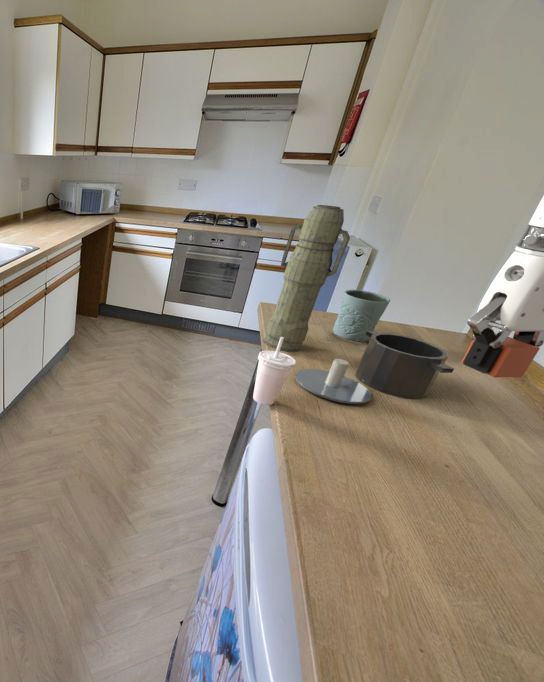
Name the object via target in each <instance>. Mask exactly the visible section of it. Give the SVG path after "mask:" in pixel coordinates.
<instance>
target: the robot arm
mask: <svg viewBox="0 0 544 682" xmlns="http://www.w3.org/2000/svg"><path fill="white" fill-rule="evenodd" d="M541 197H542V198H541V199H540V201H539V203H538V205H537V207H536V208H535V211H534V213H533V214H532V217H531V218H530V220H529V222H528V224H527V226H526V227H525V229H524V231H523V232H522V235H521V237H520V239H519V241H518V242H517V245H516V246H515V247H514V251H513V252H512V253H511V255H510V256H509V257H508V258H507V260H506V261H505V263H504V264H503V265H502V267H501V269H499V271H498V273H497V274H496V276H495V277H494V279H493V280H492V282H491V284H490V285H489V287H488V289H487V290H486V292H485V294H484V296H483V297H482V299H481V301H480V303H479V306H478V308H477V311H476V313H475V314H474V315H473V316H471V317H470V318H469V319H468V320H467V325H468V326H469V328H470V329H471V332H472V334H473V336H472V341H473V340H475V341H474V342H473V344H472V346H471V348H470V350H469V352H468V354H467V355H466V357H465V359H464V361H463V363H462V364H463V365H464V366H466V367H469V368H471V369H473V370H475V371H477V372H479V373H482V374H486V373H489V372H490V371H491V369H492V367H493V366H494V364H495V362H496V360H497V359H498V357H499V355H500V353H501V352H502V350H503V349H501V348H499V347H500V346H501V344H502V343H503V342H504V341H505V339H506V338H507V337H510V335H511V334H512V332H514V333H513V336H512V338H513V339H516V340H519V341H522V342H524V343H527V344H530V345H533V346H535V347H538V348H541V347H542V346H543V345H544V194H543V195H542V196H541ZM498 321H500V323H498ZM493 328H496V329H498V332H497V333H495V331H494V329H493ZM495 335H496V336H495Z"/></svg>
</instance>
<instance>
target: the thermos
mask: <svg viewBox="0 0 544 682" xmlns="http://www.w3.org/2000/svg"><path fill="white" fill-rule="evenodd" d="M344 220H345V211H344V209H343V208H341V207H340V206H337V205H336V206H335V205H328V204H327V205H326V204H317V205H316V206H312V207H311V209H310V210H309V211H308V213H307V215H306V216H305V218H304V220H303V223H298V224H296V225H295V226H293V227H292V228H291V230H290V232H289V236H288V239H287V242H286V246H285V248H284V251H283V255H282V259H281V262H280V266H281V267H284V274H283V283H282V286H281V290H280V293H279V296H278V298H277V299H278V300H277V302H276V306H275V308H274V312H273V315H272V317H271V318H270V319H269V320H268V323H267V326H266V329H265V335H264V338H263V343H264V344H265V345H266V346H268V347H270V348H272V349H277V346H278V343H279V340H280V337H284V339H283V342H282V345H281V348H280V351H282V352H292V353H295V352H299V351H301V348H302V344H303V343H304V342H305V339H306V337H307V334H308V331H309V321H310V318H311V316H312V313H313V310H314V307H315V304H316V302H317V299H318V296H319V293H320V291H321V288H322V287H323V286H324V285H325V284H326V281H327V278H328V277H331V276H333V275H335V274H336V273H337V272H338V270H339V267H340V264H341V261H342V259H343V256H344V254H345V251H346V249H347V246H348V244H349V242H350V239H351V237H350V234H349V231H347V230H345V229H343V225H344V222H345V221H344ZM297 229H299V230H300V233H299V235H298V242H297V244H296V245H295V248H294V250H293V251H292V253H291V254H290V256H289V255H288V254H289V252H290V248H291V245H292V242H293V239H294V236H295V232H296V231H297ZM340 235H342V238H343V240H342V243H341V245H340V248H339V250H338V253H337V256H336V258H335V262H334V263H333V253H334V247H335V244H336V243H337V241H338V239H339V236H340ZM288 256H289V258H288ZM287 258H288V261H287ZM286 261H287V262H286ZM332 265H333V267H332ZM331 267H332V269H331Z"/></svg>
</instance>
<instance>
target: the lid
mask: <svg viewBox="0 0 544 682" xmlns="http://www.w3.org/2000/svg"><path fill="white" fill-rule="evenodd" d="M349 365H350V363H349V361H347V360H345V359H342V358H334V360H333V361H332V363H331V366H330V368H329V370H324V369H318V368H303V369H300V370H298V371H296V372H295V374H294V380H295V381H296V382H297V384H298V385H299V386H300V387H302V388H303V389H305V390H307V392H310V393H312V394H314V395H316V396H319V397H320V398H324V399H327V400H330V401H333V402H338V403H343V404H347V405H348V404H349V405H361V404H362V405H363V404H366V403H368V402H370V400H371V398H372V393H371V391H370V390H369V389H368V388H367V387H365V386H364V385H363V383H360V382H358V381H357V380H355V379H352V378H350V377H347V376H346V375H345V374H346V372H347V369H348V367H349Z"/></svg>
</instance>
